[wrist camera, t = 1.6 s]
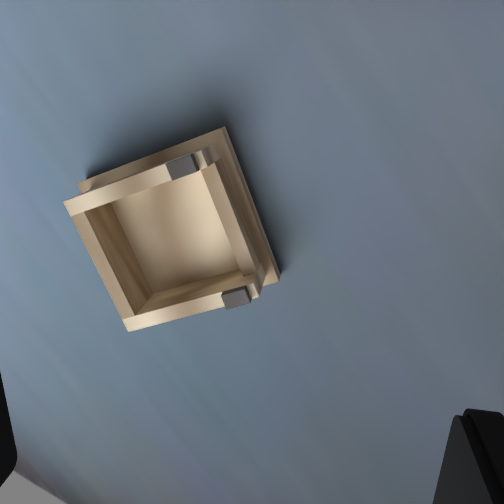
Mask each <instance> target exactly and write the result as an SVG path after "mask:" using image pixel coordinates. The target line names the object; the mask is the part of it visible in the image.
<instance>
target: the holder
mask: <svg viewBox="0 0 504 504" xmlns="http://www.w3.org/2000/svg"><path fill="white" fill-rule="evenodd" d="M77 184H78V186H79V188H80V190H81V192H82V193H81V194H79V195H77V196H75V197H73V198H70V199H68V200H66V201H64V204H65V206H66V208H67V210H68V212H69V214H70V216H71V218H72V220H73V222H74V224H75V226H76V228H77V230H78V232H79V234H80V236H81V238H82V240H83V242H84V244H85V246H86V248H87V250H88V252H89V254H90V256H91V258H92V260H93V262H94V264H95V266H96V268H97V270H98V272H99V274H100V276H101V278H102V280H103V282H104V284H105V286H106V288H107V290H108V292H109V294H110V296H111V298H112V300H113V302H114V304H115V306H116V308H117V310H118V312H119V314H120V316H121V318H122V320H123V322H124V324H125V326H126V328H127V330H128V332H130V331H134V330H138V329H141V328H145V327H149V326H152V325H156V324H160V323H164V322H167V321H171V320H175V319H179V318H182V317H186V316H190V315H194V314H197V313H201V312H205V311H209V310H212V309H216V308H220V307H224V306H225V307H226V310H227V309H231V308H234V307H238V306H242V305H246V304H249V303H250V302H251V299H253V298H257V297H259V295H260V292H261V289H262V286H265V285H268V284H272V283H276V282H279V279H280V275H281V274H280V272H279V269H278V266H277V264H276V261H275V258H274V256H273V253H272V250H271V248H270V245H269V242H268V240H267V237H266V234H265V232H264V229H263V226H262V223H261V221H260V218H259V215H258V213H257V210H256V207H255V205H254V202H253V199H252V197H251V194H250V191H249V189H248V186H247V183H246V181H245V178H244V175H243V173H242V170H241V167H240V165H239V162H238V159H237V157H236V154H235V151H234V148H233V146H232V143H231V140H230V138H229V135H228V132H227V130H226V127H225V126H224V127H222V128H219V129H217V130H214V131H211V132H209V133H206V134H204V135H201V136H198V137H196V138H193V139H191V140H188V141H185V142H183V143H180V144H178V145H175V146H172V147H170V148H167V149H164V150H162V151H159V152H157V153H154V154H151V155H149V156H146V157H144V158H141V159H138V160H136V161H133V162H131V163H128V164H125V165H123V166H120V167H117V168H115V169H112V170H110V171H107V172H104V173H102V174H99V175H97V176H94V177H91V178H89V179H86V180H84V181H81V182H79V183H77Z"/></svg>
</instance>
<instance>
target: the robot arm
mask: <svg viewBox="0 0 504 504" xmlns="http://www.w3.org/2000/svg"><path fill="white" fill-rule="evenodd" d="M16 462H17V450H16V445H15V441H14V436H13V431H12V426H11V421H10V417H9V412H8V407H7V402H6V397H5V392H4V388H3V383H2V378H1V373H0V487H1V485H2V484H3V483H4V482H5V480H6V479H7V478H8V477H9V475H10V474H11V472H12V471H13V469H14V467H15V465H16ZM433 504H504V416H503V415H502V414H501V413H499V412H493V411H485V410H477V409H466V410H465V411H464V414H463V416H459V415H455V416H454V418H453V421H452V425H451V429H450V433H449V437H448V441H447V446H446V450H445V454H444V458H443V462H442V467H441V471H440V475H439V479H438V483H437V488H436V492H435V496H434V500H433Z"/></svg>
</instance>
